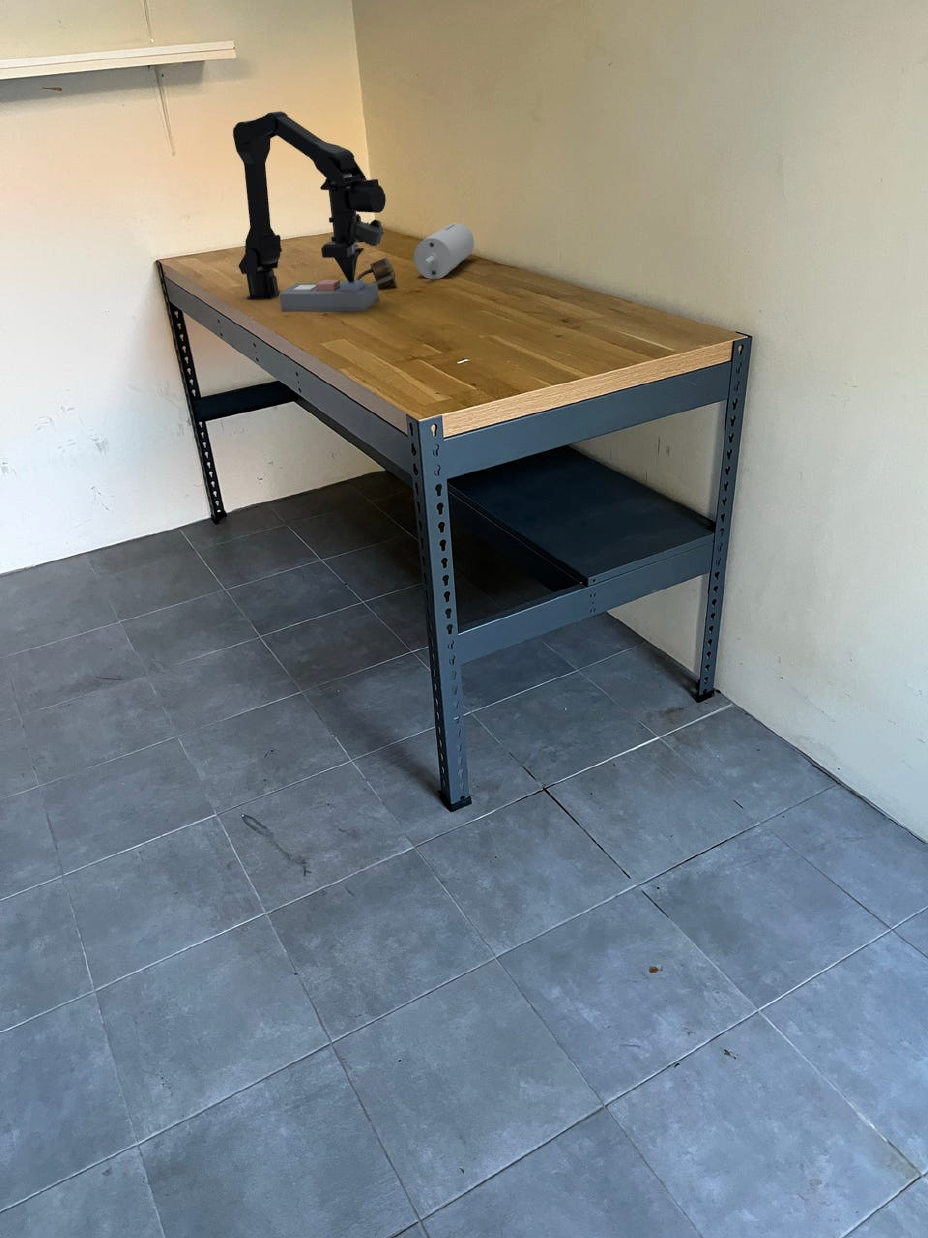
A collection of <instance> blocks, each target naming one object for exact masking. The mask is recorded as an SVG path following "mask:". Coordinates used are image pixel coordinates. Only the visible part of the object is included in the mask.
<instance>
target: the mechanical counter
mask: <svg viewBox="0 0 928 1238" xmlns="http://www.w3.org/2000/svg"><path fill="white" fill-rule="evenodd" d="M371 273H372V274H373V276H374V279H375V281H373V282H372V283H377V285H378V289H383V288H384V287H388V286H389V285H392V284H393V286H394V287H395V288H398V283H397V280H396V274H395V271H394V269H393V265H392V264H391V262H390V259H389V258H388V257H384V258H382V259H379V260H377V261H374V262H372V263H370V268H369V269H367V270H364V271H363V272H361V273H360V274H359V275H358V276H357V277H356V279H355V280H362V278H363V277H365V276H367V275H369V274H371Z"/></svg>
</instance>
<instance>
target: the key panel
mask: <svg viewBox="0 0 928 1238" xmlns="http://www.w3.org/2000/svg"><path fill="white" fill-rule="evenodd" d="M317 283H318V282H309V283H307V282H301V283H300V282H296V283H294V284H293V285H292V286H289V287H288V288H287V289H285V290H283V291H282V292H280V293H279V294H278V296H279V302H280V308H281V312H364V313H365V312H366V311H367V310H369V309H370V308H371V307H372V306H373V305H375V304H376V303H377V302H378V301H380V297H379V287H378V285H377V283H373V282H364V288H362V289H361V290H359V291H341V290H340V288H338V289H337V290H336V291H317V288H315V289H313V290H312V291H293V289H295V288H296V287H298V286H299V285H316V284H317ZM341 283H342V282H340V284H341Z"/></svg>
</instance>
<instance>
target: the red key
mask: <svg viewBox="0 0 928 1238" xmlns="http://www.w3.org/2000/svg"><path fill="white" fill-rule="evenodd" d="M316 283H317V284H316V288H317V291H336V290H337V289H338V288H340V283H341V280H340V279H322V280H320V281H319V282H316Z"/></svg>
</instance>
